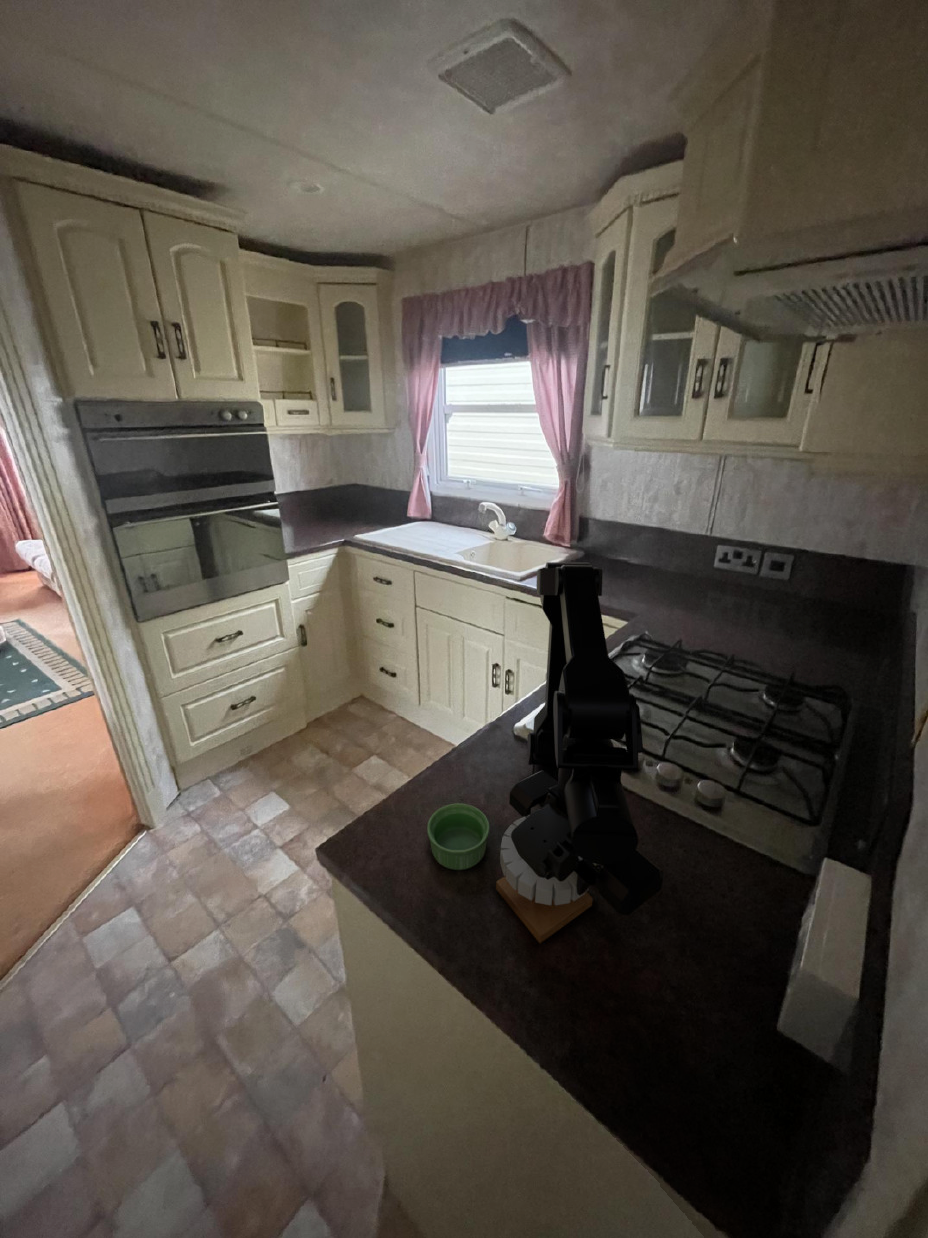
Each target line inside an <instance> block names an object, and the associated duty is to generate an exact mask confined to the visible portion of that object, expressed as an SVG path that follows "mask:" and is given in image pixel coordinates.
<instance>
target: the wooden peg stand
mask: <svg viewBox="0 0 928 1238" xmlns="http://www.w3.org/2000/svg"><path fill="white" fill-rule="evenodd" d="M495 890H496V891H497V893H499V895H500V896H501V898H502V899H504V901H505V902H506V903H507V905H508V906H509V907H510V908H511V909H512V911H513V912H514V913H515V915H516V916H517V917H518V919H520V921H521V922H522V923H523V924H524V926H525V928H527V929H528V931H529V932H530V933H531V934H532V936H533V937H534V938H535V939H536V941H537V942H538V943H539V944H542V943H543V942H544V941H545V940H547V939H548V938H549V937H551V936H552V935H554V934H555V933H556V932H558V931H559V930H561V929H562V928H563V927H565V926H566V925H568V924H569V923H571V922H572V921H573V920H574V919H576V918H577V917H579V916H580V915H581V914H582V913H584V912H585V911H586V910H588V909H589V908H590V907H592V906H593V901H594V900H593V896H591V895H590V894H589V893H588V891H585V894H584V895H583V896H581V897H580V898H578V899H577V900H575V901H573V900H572V899H570V903H566V904H561V905H555V904H554V901H553V898H552V903H551V905H546V904H541V903H536V902H535V897H536V894H535V896H534V898H533V899H532V901H531V900H529V899H527V898H526V897H524V896H522V895H521V894H519V893H518V889H516V890H514V889H513V888H512V886H511V885H510V884H509V883H508V881H507V880H506V876H503V877H501V878H500V879H498V880H497V881H496V882H495Z"/></svg>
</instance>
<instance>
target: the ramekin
mask: <svg viewBox="0 0 928 1238" xmlns="http://www.w3.org/2000/svg"><path fill="white" fill-rule="evenodd" d="M426 830H427V831H426V832H427V836H428V839H429V842H430V847H431V848H430V849H431V852H432V853H431V854H432V856H433V857H434V859H435V860H436V862H437V863H439V865H441V866H442V867H444V868H447V869H451V870H455V871H463V870H467V869H470V868H472V867H474V866H476V865H477V864H478V863H480V861H481V860H482V859H483V858H484V856H485V853H486V850H487V842H488V838H489V834H490V822H489V819H488V817H487V816H486V815H485V813H484V812H482V811H481V810H480V809H479V808H477V807H475V806H473V805H471V804H467V803H460V802H459V803H450V804H447V805H444V806H442V807H440V808H438V809H437V810H436V811H434V812H433V813H432V815H431V816H430V817H429V820H428V822H427V826H426Z"/></svg>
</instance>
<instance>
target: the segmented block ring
mask: <svg viewBox="0 0 928 1238" xmlns="http://www.w3.org/2000/svg"><path fill="white" fill-rule="evenodd" d="M528 816H529V815H528ZM528 816H525V817H521V818H518V819H517V820H515V821H513V824H510V825H509V826H508V828H507V829H506V830H505V832H504V833H503V835H502V840H501V844H500V855H499V856H500V857H499V859H500V862H499V863H500V868H501V871H502V874H503V877H505V876H506V880H507V881H508V883H509V884H510V885H511V886H512V888H513V889H514V890H516V889H518V893H519V894H521V895H522V896H524V897H526V898H527V899H529V900H531V901H532V899H533V898H534V896H535V894H536V897H535V902H536V903H541V904H546V905H551V903H552V898H553V901H554V904H555V905H561V904H566V903H570V899H572V900H573V901H575V900H577V899H578V898H580V897H581V896H583V895H584V894H585V892H584V893H583V894H581V895H580V896H579V895H578V894H577V887H576V885H577V875H578V874H577V873H576V872H575V871H573V872H572V873H571V874H570V875H569V876H568V877H567V878H566V879H565V880H564V881H558V880H557V879H556V878H555V877H552V878H550V879H549V880H547V879H546V878H542V877H539V876H538V875H536V873H535V872H534V871H533V870H532V869H531V867H530V866H529V865H528V864H527V863H526V862H525V861H524V860H523V859H522V858H521V857H520V856H519V854H518V852H517V850H516V848H515V846H514V843H513V841H512V839H511V833H512V831H513V830H514V829H515V828H516V827H517V826H518V825H519V824H520V823H521V822H523V821H524V820H525V819H526V818H527V817H528ZM578 858H579V861H581V860H582V858H581V857H578ZM589 889H590V887H589V888H588V889H587V890H586V892H589Z"/></svg>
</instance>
